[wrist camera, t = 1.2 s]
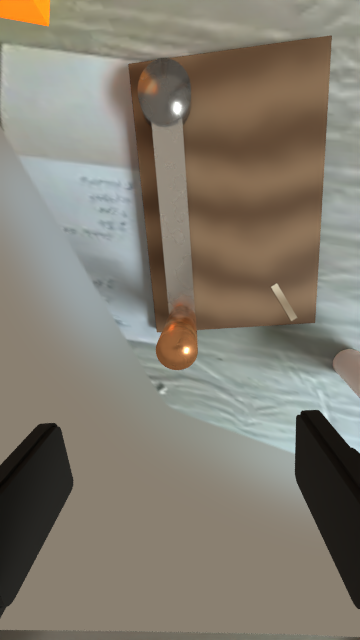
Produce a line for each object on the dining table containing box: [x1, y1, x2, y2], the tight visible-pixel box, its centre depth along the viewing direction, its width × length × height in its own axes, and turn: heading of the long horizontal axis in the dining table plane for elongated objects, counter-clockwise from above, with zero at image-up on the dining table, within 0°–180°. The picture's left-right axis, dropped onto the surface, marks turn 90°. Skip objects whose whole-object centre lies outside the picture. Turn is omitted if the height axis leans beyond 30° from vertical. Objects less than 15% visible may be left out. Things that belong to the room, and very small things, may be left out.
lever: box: [138, 58, 198, 370], centre depth 21 cm, size 26×5×12 cm, turn 4°
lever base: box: [128, 36, 332, 332], centre depth 27 cm, size 28×20×1 cm
